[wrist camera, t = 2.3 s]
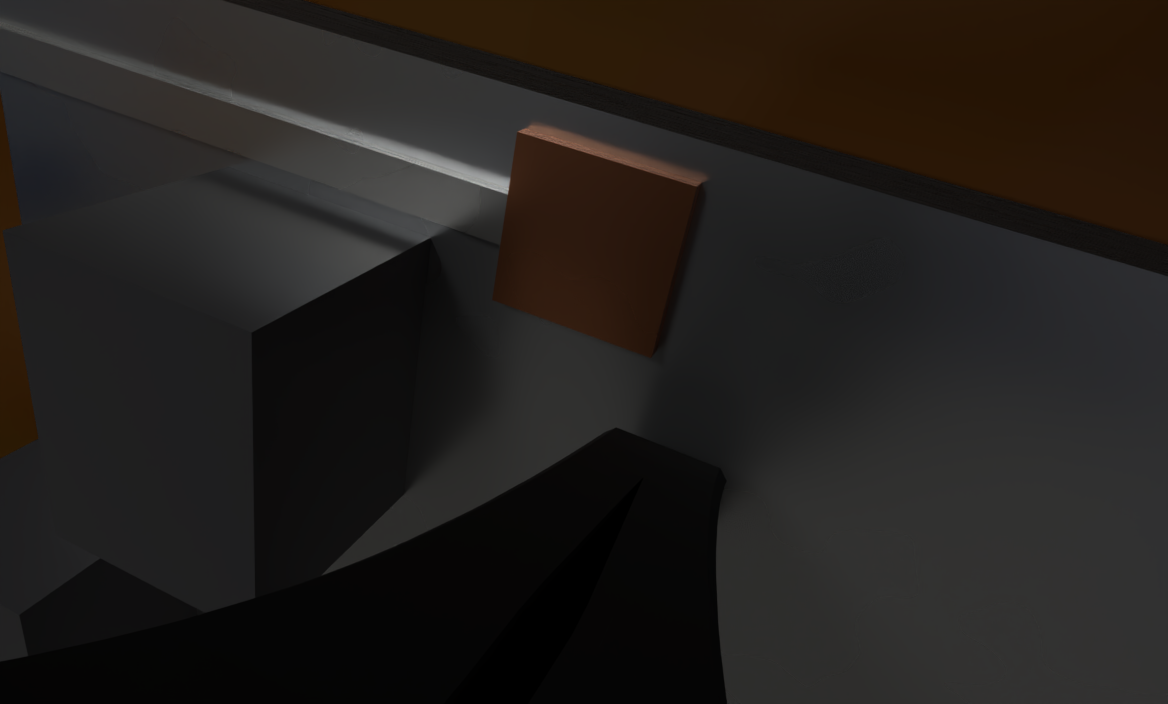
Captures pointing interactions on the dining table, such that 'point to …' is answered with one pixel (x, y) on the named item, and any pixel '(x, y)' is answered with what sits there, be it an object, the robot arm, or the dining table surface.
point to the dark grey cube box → (220, 378)
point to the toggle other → (61, 576)
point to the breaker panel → (694, 334)
